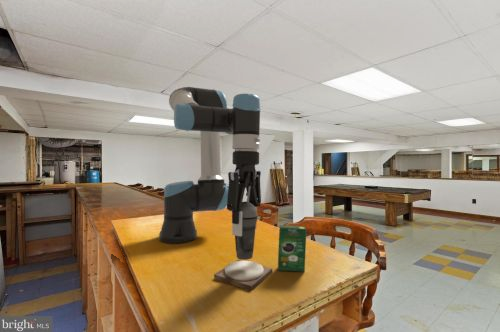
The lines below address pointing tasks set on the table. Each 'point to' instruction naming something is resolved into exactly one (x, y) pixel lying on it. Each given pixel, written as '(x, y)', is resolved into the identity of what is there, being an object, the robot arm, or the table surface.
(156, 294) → the table surface
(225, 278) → the mount
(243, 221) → the beverage cup
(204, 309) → the table surface
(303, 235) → the coffee box
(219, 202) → the robot arm
